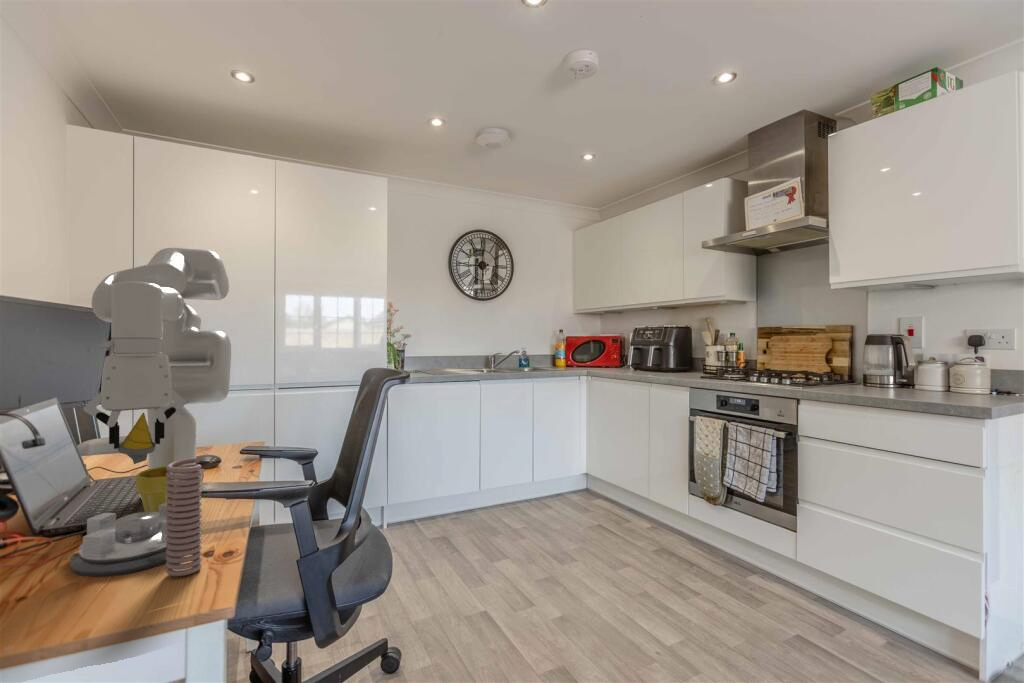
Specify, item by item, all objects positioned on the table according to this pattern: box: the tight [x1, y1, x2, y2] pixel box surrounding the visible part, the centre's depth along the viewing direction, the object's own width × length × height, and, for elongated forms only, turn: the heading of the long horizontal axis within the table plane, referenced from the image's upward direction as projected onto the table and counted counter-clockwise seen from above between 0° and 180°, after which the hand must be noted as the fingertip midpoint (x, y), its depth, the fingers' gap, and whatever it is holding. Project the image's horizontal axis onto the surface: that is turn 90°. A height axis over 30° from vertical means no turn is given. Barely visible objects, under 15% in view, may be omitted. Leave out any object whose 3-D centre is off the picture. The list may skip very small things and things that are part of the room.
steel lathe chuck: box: [78, 502, 191, 563], centre depth 81 cm, size 15×15×4 cm
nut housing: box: [69, 543, 191, 578], centre depth 81 cm, size 17×17×2 cm
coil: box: [165, 457, 203, 577], centre depth 74 cm, size 5×5×18 cm
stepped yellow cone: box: [117, 412, 156, 465], centre depth 86 cm, size 5×5×10 cm
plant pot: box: [135, 465, 184, 512], centre depth 98 cm, size 10×10×10 cm
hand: (137, 444), depth 86 cm, fingers closed on stepped yellow cone, 5 cm apart
